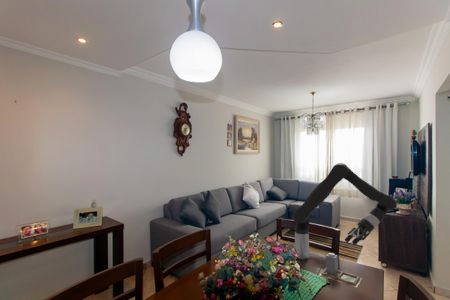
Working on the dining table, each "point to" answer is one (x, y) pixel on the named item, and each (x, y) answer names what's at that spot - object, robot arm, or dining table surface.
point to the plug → (332, 264)
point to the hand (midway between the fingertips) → (349, 242)
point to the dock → (343, 278)
